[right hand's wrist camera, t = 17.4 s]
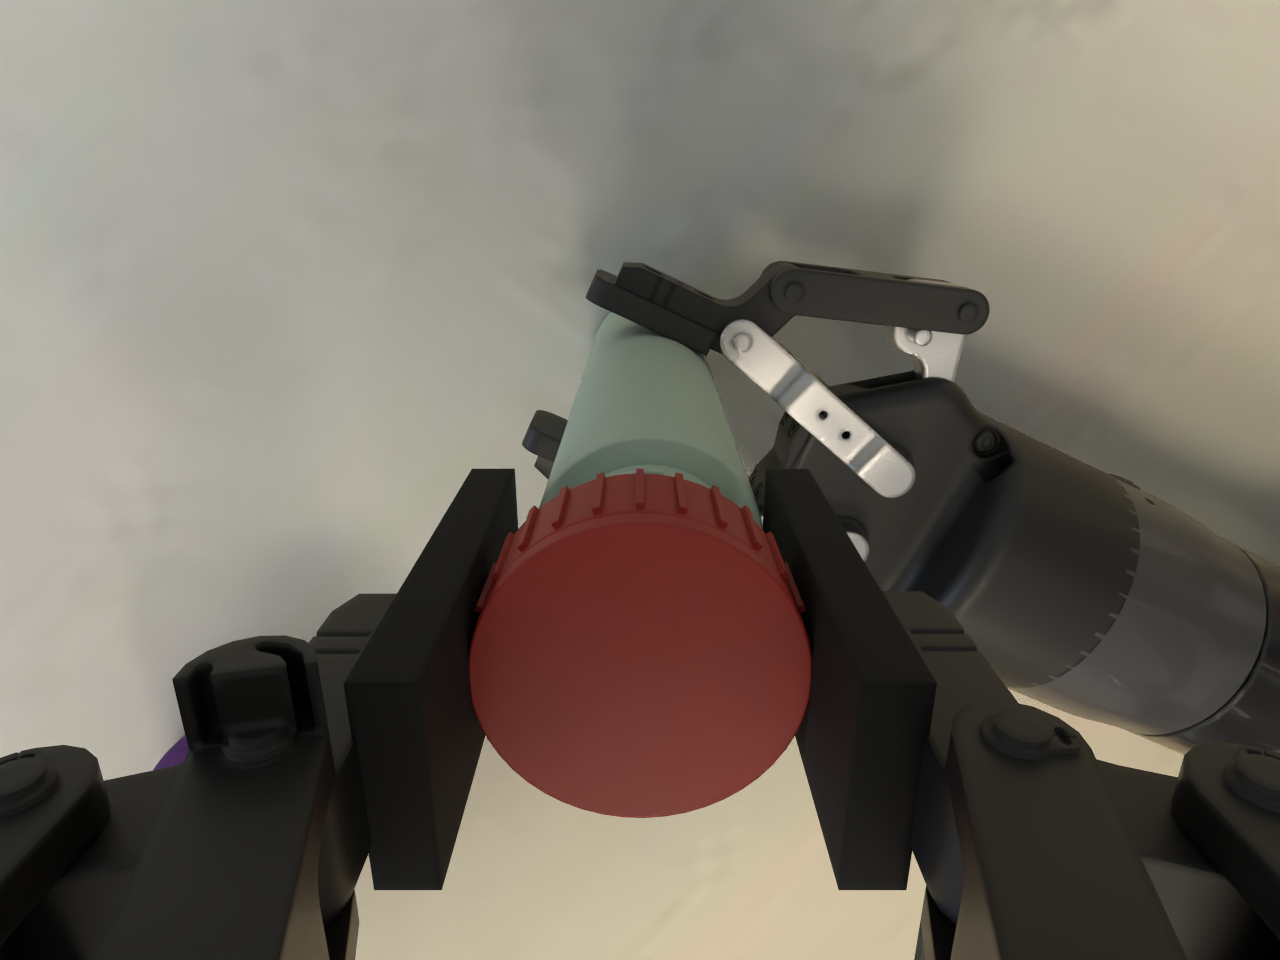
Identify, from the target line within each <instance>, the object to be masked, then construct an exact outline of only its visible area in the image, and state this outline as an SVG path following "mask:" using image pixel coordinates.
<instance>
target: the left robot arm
mask: <svg viewBox="0 0 1280 960" xmlns="http://www.w3.org/2000/svg"><path fill="white" fill-rule="evenodd" d="M586 298H587V299H588V300H589V301H591V302H592V303H594V304H596V305H598V306H600V307H602V308H604V309H606V310H608V311H611V312H613V313H615V314H617V315H619V316H621V317H623V318H626V319H628V320H630V321H632V322H634V323H636V324H638V325H641V326H643V327H645V328H647V329H649V330H651V331H653V332H656V333H658V334H660V335H662V336H664V337H666V338H668V339H671V340H673V341H676V342H678V343H680V344H682V345H684V346H686V347H688V348H690V349H692V350H694V351H696V352H699V353H701V354H703V355H705V356H707V354H708V352H709V350H710V349H712V350H714V351H717V352H719V353H721V354H723V355H725V357H726V358H727V359H728V360H730V361H731V362H732V363H733V364H734V365H735V366H737V367H738V368H739V369H740V370H741V371H742V372H743V373H745V374H746V375H747V376H748V377H749V378H750V379H751V380H753V381H754V382H755V383H756V384H757V385H758V386H759V387H761V388H762V389H763V390H764V391H765V392H766V393H768V394H769V395H770V396H771V397H772V398H773V399H774V400H775V401H776V403H777V404H778V405H779V406H780V407H781V408H783V409H784V410H785V411H786V412H785V414H784V415H783V417H782V419H781V421H780V423H779V427H778V431H777V435H776V439H775V444H774V447H773V448H772V449H771V450H770V451H769V453H768V454H767V455H766V456H765V457H764V458H763V459H762V460H761V461H760V462H759V463H758V464H757V465H756V467H755V469H754V471H753V472H752V474H751V476H747V477H748V480H749V483H750V485H751V488H752V491H753V494H754V497H755V500H756V503H757V505H758V509H759V512H760V515H761V519H762V525H763V510H764V492H765V475H766V469H809V471H810V472H811V474H812V476H813V477H814V479H815V481H816V482H817V484H818V486H819V487H820V489H821V491H822V492H823V494H824V496H825V497H826V499H827V501H828V502H829V504H830V506H831V507H832V509H833V511H834V512H835V514H836V516H837V517H838V519H839V521H840V522H841V524H842V526H843V527H844V529H845V531H846V532H847V534H848V536H849V537H850V539H851V541H852V542H853V544H854V546H855V547H856V549H857V551H858V552H859V554H860V556H861V557H862V559H863V561H864V562H865V564H866V566H867V567H868V569H869V571H870V572H871V574H872V576H873V577H874V579H875V581H876V582H877V584H878V586H879V587H880V589H881V591H922V592H924V593H925V594H927V595H928V596H930V597H931V598H933V599H934V600H936V601H937V602H939V603H941V604H942V605H944V606H945V607H947V608H948V609H949V610H950V611H951V612H952V614H953V615H954V616H955V618H956V619H957V620H958V622H959V623H960V625H961V626H962V627H963V629H964V633H965V634H968V635H969V637H970V638H971V640H972V641H973V642H974V644H975V645H976V646H977V651H980V652H981V653H982V654H983V656H984V657H985V659H986V660H987V661H988V663H989V664H990V665H991V667H992V668H993V669H994V671H995V672H996V674H997V675H998V676H999V678H1000V679H1001V680H1002V682H1003V683H1004V684H1005V686H1006V687H1007V688H1009V689H1011V690H1014V691H1016V692H1018V693H1021V694H1023V695H1025V696H1028V697H1030V698H1032V699H1035V700H1037V701H1040V702H1042V703H1044V704H1047V705H1049V706H1051V707H1054V708H1056V709H1059V710H1061V711H1064V712H1067V713H1069V714H1072V715H1075V716H1078V717H1082V718H1085V719H1089V720H1093V721H1097V722H1101V723H1105V724H1109V725H1113V726H1116V727H1119V728H1122V729H1125V730H1127V731H1129V732H1132V733H1134V734H1136V735H1139V736H1141V737H1143V738H1146V739H1148V740H1150V741H1153V742H1155V743H1157V744H1160V745H1162V746H1164V747H1167V748H1169V749H1171V750H1174V751H1176V752H1179V753H1181V754H1183V755H1185V754H1186V753H1187V752H1188V751H1190V750H1191V749H1192V748H1193V747H1195V746H1196V745H1199V744H1206V743H1212V742H1227V743H1236V744H1246V745H1251V746H1256V747H1260V748H1261V749H1263V750H1265V749H1267V750H1270V751H1273V752H1276V753H1279V754H1280V566H1279V565H1277V564H1275V563H1273V562H1271V561H1269V560H1267V559H1265V558H1262V557H1260V556H1258V555H1256V554H1254V553H1252V552H1250V551H1248V550H1246V549H1244V548H1242V547H1239V546H1237V545H1235V544H1233V543H1231V542H1229V541H1227V540H1225V539H1223V538H1222V537H1220V536H1218V535H1216V534H1215V533H1213V532H1212V531H1210V530H1209V529H1208V528H1206V527H1205V526H1203V525H1202V524H1201V523H1199V522H1198V521H1196V520H1195V519H1193V518H1192V517H1190V516H1189V515H1187V514H1186V513H1184V512H1183V511H1181V510H1179V509H1178V508H1176V507H1174V506H1172V505H1170V504H1168V503H1166V502H1164V501H1162V500H1160V499H1158V498H1156V497H1154V496H1152V495H1150V494H1148V493H1146V492H1144V491H1142V490H1141V489H1140V488H1139V487H1137V486H1136V485H1134V484H1133V483H1132V482H1131V481H1129V480H1126V479H1124V478H1121V477H1119V476H1116V475H1112V474H1106V473H1104V472H1102V471H1100V470H1098V469H1096V468H1094V467H1091V466H1089V465H1087V464H1085V463H1083V462H1081V461H1079V460H1077V459H1075V458H1073V457H1070V456H1068V455H1066V454H1064V453H1062V452H1060V451H1058V450H1056V449H1054V448H1052V447H1050V446H1048V445H1046V444H1043V443H1041V442H1039V441H1037V440H1035V439H1033V438H1031V437H1029V436H1027V435H1025V434H1023V433H1021V432H1019V431H1016V430H1014V429H1012V428H1010V427H1008V426H1006V425H1004V424H1002V423H1000V422H998V421H996V420H994V419H992V418H989V417H987V416H985V415H983V414H981V413H980V412H978V411H977V410H976V409H975V408H974V407H973V405H972V404H971V402H970V401H969V399H968V397H967V395H966V394H965V392H964V391H963V390H962V389H961V388H960V387H959V386H958V385H957V384H955V383H954V381H955V377H956V373H957V369H958V365H959V361H960V357H961V354H962V350H963V346H964V342H965V338H966V334H971V333H974V332H976V331H977V330H979V329H980V328H981V327H982V326H983V325H984V324H985V322H986V320H987V318H988V315H989V303H988V301H987V299H986V297H985V296H984V295H983V294H982V293H980V292H978V291H975V290H972V289H969V288H966V287H963V286H960V285H956V284H953V283H950V282H947V281H944V280H937V279H928V278H920V277H912V276H903V275H895V274H887V273H878V272H870V271H862V270H853V269H845V268H837V267H828V266H820V265H812V264H803V263H795V262H786V261H777V262H774V263H771V264H770V265H768V266H767V267H766V268H765V269H764V271H763V272H762V274H761V277H760V278H759V279H758V280H757V281H756V282H755V283H754V284H753V285H752V286H751V287H750V288H749V289H748V290H747V291H746V292H745V293H743V294H742V295H741V296H739V297H737V298H735V299H731V300H721V299H717V298H714V297H712V296H710V295H708V294H706V293H704V292H702V291H700V290H698V289H696V288H694V287H691V286H689V285H687V284H685V283H683V282H681V281H679V280H677V279H674V278H672V277H671V276H668V275H666V274H664V273H662V272H660V271H658V270H656V269H654V268H652V267H650V266H648V265H645V264H643V263H632V262H624V263H623V265H622V268H621V270H620V272H619V274H618V277H617V276H615V275H613V274H610V273H608V272H606V271H603V270H599V269H598V270H597V272H596V274H595V276H594V278H593V281H592V283H591V285H590V288H589V290H588V292H587V294H586ZM795 315H800V316H808V317H817V318H825V319H834V320H842V321H851V322H859V323H868V324H876V325H885V335H886V337H887V339H888V341H889V342H890V343H891V344H892V345H894V346H895V347H897V348H898V349H900V350H902V351H903V352H905V353H909V354H911V356H912V357H913V360H914V366H915V367H914V371H909V372H904V373H899V374H893V375H888V376H883V377H877V378H872V379H867V380H861V381H856V382H851V383H845V384H840V385H835V386H829V385H828V384H827V383H826V382H825V381H824V380H823V379H821V378H820V377H819V376H818V375H817V374H816V373H815V372H814V371H813V370H811V369H810V368H809V367H808V366H807V365H806V364H805V363H804V362H802V361H801V360H800V359H799V358H798V357H797V356H796V355H795V354H793V353H792V352H791V351H790V350H789V349H787V348H786V347H785V346H784V345H783V344H782V343H780V342H779V341H778V340H777V339H776V338H775V337H774V335H775V334H776V333H777V332H778V331H779V330H780V329H781V328H782V327H783V326H784V325H785V324H786V323H787V322H788V321H789V320H790V319H791V318H792V317H794V316H795ZM567 422H568V420H566V419H564V418H562V417H559V416H557V415H555V414H552V413H550V412H547V411H543V410H537V411H536V413H535V415H534V417H533V419H532V421H531V423H530V426H529V428H528V430H527V433H526V435H525V437H524V440H523V442H522V445H523V446H524V448H526V449H527V450H528V451H530V452H532V453H533V454H536V455H538V458H537V460H536V463H535V465H534V466H535V467H536V468H537V469H538V470H539V471H540V472H541V473H542V474H543V475H544V476H545V477H546V478H547V479H549V477H550V474H551V471H552V468H553V465H554V462H555V459H556V456H557V452H558V449H559V446H560V443H561V440H562V437H563V434H564V431H565V428H566V425H567Z"/></svg>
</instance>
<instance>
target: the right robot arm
mask: <svg viewBox="0 0 1280 960" xmlns="http://www.w3.org/2000/svg"><path fill="white" fill-rule="evenodd" d="M517 531H518V518H517V501H516V483H515V469H472V470H471V472H470V473H469V475H468V477H467V478H466V480H465V482H464V483H463V485H462V487H461V488H460V490H459V492H458V493H457V495H456V497H455V498H454V500H453V502H452V503H451V505H450V507H449V508H448V510H447V512H446V513H445V515H444V517H443V518H442V520H441V522H440V523H439V525H438V527H437V528H436V530H435V532H434V533H433V535H432V537H431V538H430V540H429V542H428V543H427V545H426V547H425V548H424V550H423V552H422V553H421V555H420V557H419V558H418V560H417V562H416V563H415V565H414V567H413V568H412V570H411V572H410V573H409V575H408V577H407V578H406V580H405V582H404V583H403V585H402V587H401V588H400V590H399V592H398V593H397V594H358V595H357V596H355V597H354V598H352V599H351V600H349V601H347V602H346V603H344V604H343V605H341V606H340V607H338V608H337V609H335V610H334V611H332V612H331V614H330V615H329V616H328V618H327V619H326V620H325V622H324V623H323V624H322V626H321V627H320V629H319V630H318V631H317V636H316V637H313V638H312V640H311V641H310V642H309V644H308V643H307V642H306V641H305V640H301V639H297V638H293V637H289V636H258V637H253V638H248V639H243V640H238V641H233V642H230V643H228V644H225V645H222V646H220V647H217V648H214V649H212V650H209V651H207V652H205V653H203V654H202V655H200V656H199V657H197V658H195V659H194V660H192V661H190V662H189V663H187V664H186V665H185V666H184V667H183V668H182V669H181V670H180V671H179V672H178V674H177V675H176V676H175V677H174V678H173V679H172V680H173V684H174V688H175V693H176V697H177V701H178V705H179V710H180V714H181V718H182V722H183V727H184V731H185V735H186V739H187V744H188V748H189V751H188V753H187V755H186V757H185V759H184V762H183V763H182V764H179V765H175V766H171V767H167V768H164V769H159V770H154V771H149V772H144V773H140V774H135V775H130V776H125V777H120V778H115V779H111V780H106V781H103V777H102V774H101V770H100V767H99V763H98V760H97V758H96V757H95V756H94V755H93V754H91V753H90V752H89V751H88V750H86V749H85V748H79V747H73V746H67V745H60V746H50V747H41V748H34V749H29V750H24V751H21V752H20V753H14V754H11V755H8V756H5V757H2V758H0V960H355V954H356V945H357V937H358V928H359V917H358V910H357V903H356V897H355V890H354V888H355V885H356V883H357V880H358V878H359V875H360V873H361V871H362V868H363V866H364V863H365V861H366V858H367V856H368V853H369V858H370V865H371V871H372V878H373V885H374V890H442V887H443V883H444V880H445V876H446V873H447V869H448V866H449V862H450V859H451V855H452V852H453V848H454V845H455V841H456V837H457V834H458V830H459V827H460V823H461V820H462V816H463V813H464V809H465V806H466V802H467V799H468V795H469V792H470V788H471V784H472V781H473V777H474V774H475V770H476V767H477V763H478V760H479V756H480V753H481V749H482V746H483V742H484V738H485V735H486V734H485V733H484V731H483V729H482V727H481V725H480V723H479V721H478V718H477V715H476V712H475V709H474V706H473V704H472V699H471V693H470V683H469V671H468V658H469V649H470V643H471V639H472V636H473V632H474V629H475V625H476V623H477V620H478V617H479V615H480V613H477V612H475V608H476V605H477V603H478V600H479V597H480V595H481V592H482V590H483V587H484V585H485V582H486V580H487V577H488V575H489V572H490V570H491V567H492V564H493V563H496V562H497V560H498V557H499V555H500V552H501V549H502V547H503V544H504V542H505V539H506V537H507V535H508V534H509V532H511V533H513V534H515V533H516V532H517ZM763 531H764V533H765V534H766V533H768V532H771V533H772V534H773V536H774V538H775V540H776V543H777V546H778V548H779V551H780V553H781V556H782V559H783V561H784V563H785V562H787V563H788V565H789V568H790V570H791V573H792V575H793V578H794V581H795V583H796V586H797V588H798V591H799V593H800V596H801V598H802V601H803V603H804V606H805V609H806V611H804V612H801V616H802V618H803V621H804V624H805V627H806V630H807V633H808V636H809V640H810V646H811V652H812V678H811V689H810V698H809V701H808V705H807V708H806V712H805V715H804V717H803V719H802V722H801V724H800V726H799V728H798V730H797V732H796V734H795V737H796V740H797V744H798V747H799V751H800V754H801V758H802V761H803V765H804V769H805V772H806V776H807V779H808V783H809V786H810V790H811V793H812V797H813V800H814V804H815V807H816V811H817V815H818V818H819V822H820V825H821V829H822V832H823V836H824V839H825V843H826V846H827V850H828V853H829V857H830V860H831V864H832V868H833V871H834V875H835V878H836V882H837V885H838V889H839V890H906V888H907V881H908V875H909V868H910V861H911V855H912V851H913V853H914V855H915V858H916V860H917V863H918V865H919V868H920V870H921V872H922V875H923V877H924V880H925V882H926V890H925V897H924V903H923V909H922V915H921V921H920V928H919V934H918V940H917V946H916V953H915V959H914V960H1280V754H1279V753H1276V752H1273V751H1270V750H1267V749H1265V750H1263V749H1261V748H1260V747H1256V746H1251V745H1246V744H1236V743H1227V742H1212V743H1206V744H1199V745H1196V746H1195V747H1193V748H1192V749H1191V750H1190V751H1188V752H1187V753H1186V754H1185V755H1184V759H1183V762H1182V766H1181V769H1180V773H1179V776H1178V777H1173V776H1168V775H1163V774H1158V773H1153V772H1148V771H1143V770H1139V769H1134V768H1129V767H1124V766H1119V765H1115V764H1111V763H1108V762H1104V761H1100V760H1097V759H1096V758H1095V756H1094V754H1093V751H1092V749H1091V748H1090V746H1089V745H1088V744H1087V742H1086V741H1085V740H1084V739H1083V737H1082V736H1081V735H1080V733H1079V732H1078V731H1076V730H1075V729H1073V728H1072V727H1071V726H1069V725H1068V724H1066V723H1065V722H1064V721H1062V720H1061V719H1059V718H1058V717H1056V716H1053V715H1051V714H1049V713H1046V712H1044V711H1042V710H1039V709H1037V708H1035V707H1032V706H1027V705H1023V704H1019V703H1018V702H1017V701H1016V699H1015V698H1014V697H1013V695H1012V694H1011V693H1010V691H1009V690H1008V689H1007V687H1006V686H1005V684H1004V683H1003V682H1002V680H1001V679H1000V678H999V676H998V675H997V674H996V672H995V671H994V669H993V668H992V667H991V665H990V664H989V663H988V661H987V660H986V659H985V657H984V656H983V654H982V653H981V652H980V651H977V646H976V645H975V644H974V642H973V641H972V640H971V638H970V637H969V635H968V634H965V633H964V629H963V627H962V626H961V625H960V623H959V622H958V620H957V619H956V618H955V616H954V615H953V614H952V612H951V611H950V610H949V609H948V608H947V607H945V606H944V605H942V604H941V603H939V602H937V601H936V600H934V599H933V598H931V597H930V596H928V595H927V594H925V593H924V592H922V591H881V589H880V587H879V586H878V584H877V582H876V581H875V579H874V577H873V576H872V574H871V572H870V571H869V569H868V567H867V566H866V564H865V562H864V561H863V559H862V557H861V556H860V554H859V552H858V551H857V549H856V547H855V546H854V544H853V542H852V541H851V539H850V537H849V536H848V534H847V532H846V531H845V529H844V527H843V526H842V524H841V522H840V521H839V519H838V517H837V516H836V514H835V512H834V511H833V509H832V507H831V506H830V504H829V502H828V501H827V499H826V497H825V496H824V494H823V492H822V491H821V489H820V487H819V486H818V484H817V482H816V481H815V479H814V477H813V476H812V474H811V472H810V471H809V469H766V475H765V492H764V510H763Z"/></svg>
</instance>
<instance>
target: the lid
mask: <svg viewBox="0 0 1280 960" xmlns="http://www.w3.org/2000/svg"><path fill="white" fill-rule="evenodd" d="M804 611H806V609H805V606H804V603H803V601H802V598H801V596H800V593H799V591H798V588H797V586H796V583H795V581H794V578H793V575H792V573H791V570H790V568H789V565H788V563H787V562H785V563H784V561H783V559H782V556H781V553H780V551H779V548H778V546H777V543H776V540H775V538H774V536H773V534H772V533H771V532H768V533H766V534H765V533H764V531H763V530H762V528H761V527H760V526H759V525H758V524H757V523H756V522H755V521H754V519H753V516H752V513H751V510H750V509H749V508H748V507H747V506H746V505H744V506H743V507H742V508H740V507H739V506H738V505H736V504H735V503H734V502H733V501H731V500H729V499H728V498H726V497H724V496H723V495H721V493H720V489H719V487H717V486H715V485H712V487H711V489H709V488H707V487H705V486H703V485H700V484H698V483H695V482H691V481H688V480H685V479H683V474H681V473H675V477H672V476H666V475H660V474H644V469H636V473H634V474H622V475H613V476H609V477H605V474H604V473H600V474H597V477H596V479H595V480H592V481H589V482H586V483H583V484H580V485H578V486H575V487H573V488H571V489H569V488H568V486H567V485H566V486H564V487H562V488H561V489H560V492H559V495H557V496H556V497H554V498H553V499H552V500H550V501H549V502H547V503H546V504H544V505H543V506H541V507H540V508H539V509H538V508H537V507H536V506H533V507H532V508H531V509H530V511H529V514H528V516H527V519H526V521H525V522H524V524H523V525H522V526H521V527H520V528H519V529H518V531H517V532H516V533H515V534H513V533H511V532H509V534H508V535H507V537H506V539H505V542H504V544H503V547H502V549H501V552H500V555H499V557H498V560H497V562H496V563H493V564H492V567H491V570H490V572H489V575H488V577H487V580H486V582H485V585H484V587H483V590H482V592H481V595H480V597H479V600H478V603H477V605H476V608H475V612H477V613H480V615H479V617H478V620H477V623H476V625H475V629H474V632H473V636H472V639H471V643H470V649H469V658H468V671H469V683H470V693H471V699H472V704H473V706H474V709H475V712H476V715H477V718H478V721H479V723H480V725H481V727H482V729H483V731H484V733H485V734H486V736H487V738H488V740H489V741H490V743H491V744H492V745H493V747H494V748H495V750H496V751H497V753H498V754H499V755H500V756H501V757H502V758H503V760H504V761H505V762H506V763H507V764H508V765H509V766H510V767H511V768H512V769H513V770H514V771H515V772H516V773H518V774H519V775H520V776H521V777H522V778H524V779H525V780H526V781H527V782H529V783H530V784H532V785H533V786H535V787H536V788H538V789H539V790H541V791H542V792H544V793H546V794H548V795H550V796H552V797H554V798H556V799H558V800H560V801H562V802H564V803H567V804H570V805H572V806H575V807H578V808H580V809H584V810H588V811H592V812H596V813H600V814H605V815H612V816H619V817H636V818H648V817H662V816H669V815H675V814H681V813H686V812H689V811H693V810H696V809H700V808H703V807H706V806H709V805H711V804H714V803H716V802H718V801H721V800H723V799H725V798H727V797H729V796H731V795H733V794H734V793H736V792H738V791H740V790H742V789H743V788H745V787H746V786H747V785H749V784H750V783H752V782H753V781H754V780H756V779H757V778H759V777H760V776H761V775H762V774H763V773H764V772H765V771H766V770H767V769H768V768H770V767H771V766H772V765H773V764H774V763H775V761H776V760H777V759H778V758H779V757H780V756H781V754H782V753H783V752H784V751H785V750H786V748H787V747H788V745H789V744H790V742H791V740H792V739H793V737H794V736H795V734H796V732H797V730H798V728H799V726H800V724H801V722H802V719H803V717H804V715H805V712H806V708H807V705H808V701H809V698H810V689H811V678H812V652H811V646H810V640H809V636H808V633H807V630H806V627H805V624H804V621H803V618H802V616H801V612H804Z"/></svg>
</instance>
